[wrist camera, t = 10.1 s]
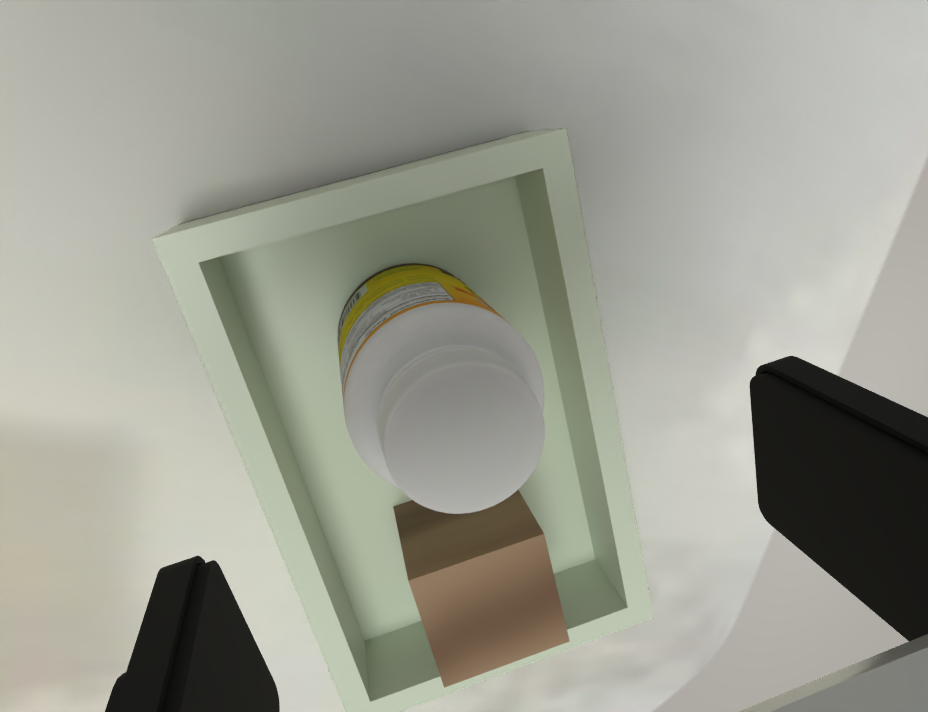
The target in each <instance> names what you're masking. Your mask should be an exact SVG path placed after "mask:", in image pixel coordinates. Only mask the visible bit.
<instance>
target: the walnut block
mask: <svg viewBox="0 0 928 712" xmlns="http://www.w3.org/2000/svg"><path fill="white" fill-rule="evenodd" d="M393 509H394V514H395V518H396V523H397V528H398V533H399V538H400V543H401V548H402V552H403V557H404V562H405V567H406V572H407V577H408V581H409V584H410V587H411V590H412V593H413V596H414V599H415V602H416V605H417V608H418V611H419V614H420V617H421V620H422V623H423V626H424V629H425V632H426V635H427V638H428V641H429V644H430V647H431V650H432V653H433V656H434V659H435V662H436V665H437V668H438V671H439V674H440V677H441V680H442V683H443V686H444V688H445V687H448V686H450V685H453V684H456V683H458V682H461V681H464V680H467V679H469V678H472V677H475V676H477V675H480V674H483V673H486V672H488V671H491V670H494V669H496V668H499V667H502V666H505V665H507V664H510V663H513V662H515V661H518V660H521V659H523V658H526V657H529V656H532V655H534V654H537V653H540V652H542V651H545V650H548V649H551V648H553V647H556V646H559V645H561V644H564V643H567V642H570V640H569V636H568V632H567V628H566V623H565V619H564V615H563V611H562V606H561V602H560V598H559V594H558V590H557V585H556V581H555V577H554V573H553V569H552V564H551V560H550V556H549V552H548V548H547V543H546V539H545V535H544V533H543V531H542V529H541V527H540V526H539V524H538V522H537V521H536V519H535V517H534V515H533V514H532V512H531V510H530V509H529V507H528V505H527V504H526V502H525V500H524V498H523V497H522V495H521V493H520V492H519V490H517V491H516V492H515V493H513V494H512V495H511V496H510V497H508V498H507V499H505V500H503V501H502V502H500V503H498V504H496V505H494V506H492V507H489V508H487V509H484V510H481V511H476V512H471V513H463V514H450V513H444V512H439V511H435V510H432V509H429V508H426V507H424V506H422V505H420V504H418V503H416V502H415V501H413V500H411V501H408V502H405V503H402V504H399V505H396V506H393Z"/></svg>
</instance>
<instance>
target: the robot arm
mask: <svg viewBox="0 0 928 712" xmlns="http://www.w3.org/2000/svg"><path fill="white" fill-rule="evenodd" d="M750 397H751V411H752V424H753V438H754V452H755V465H756V479H757V493H758V504H759V508H760V510H761V513H762V515H763V516H764V518H765V519H766V521H767V522H768V523H769V524H770V525H772V526H773V527H774V528H775V529H776V530H778V531H779V532H780V533H781V534H782V535H783V536H785V537H786V538H787V539H788V540H789V541H791V542H792V543H793V544H794V545H795V546H796V547H798V548H799V549H800V550H801V551H803V552H804V553H805V554H806V555H807V556H808V557H810V558H811V559H812V560H813V561H814V562H816V563H817V564H818V565H819V566H820V567H821V568H823V569H824V570H825V571H826V572H827V573H829V574H830V575H831V576H832V577H833V578H835V579H836V580H837V581H838V582H839V583H841V584H842V585H843V586H844V587H845V588H846V589H848V590H849V591H850V592H851V593H852V594H854V595H855V596H856V597H857V598H858V599H859V600H861V601H862V602H863V603H864V604H865V605H867V606H868V607H869V608H870V609H871V610H873V611H874V612H875V613H876V614H877V615H878V616H880V617H881V618H882V619H883V620H885V621H886V622H887V623H888V624H889V625H890V626H892V627H893V628H894V629H895V630H896V631H897V632H899V633H900V634H901V635H902V636H903V637H905V638H906V639H907V640H908V641H909V642H907V643H905V644H902V645H900V646H897V647H895V648H892V649H890V650H888V651H885V652H883V653H880V654H878V655H875V656H873V657H871V658H868V659H866V660H863V661H861V662H858V663H856V664H853V665H851V666H848V667H846V668H844V669H841V670H839V671H837V672H834V673H831V674H829V675H827V676H824V677H822V678H819V679H817V680H814V681H812V682H809V683H807V684H805V685H802V686H800V687H797V688H795V689H793V690H790V691H788V692H785V693H783V694H781V695H778V696H776V697H773V698H771V699H768V700H766V701H764V702H761V703H759V704H757V705H754V706H752V707H749V708H747V709H744V710H742V711H740V712H928V417H926V416H924V415H922V414H919V413H917V412H915V411H913V410H910V409H908V408H906V407H904V406H902V405H900V404H897V403H895V402H893V401H891V400H889V399H887V398H885V397H882V396H880V395H878V394H876V393H874V392H872V391H869V390H867V389H865V388H863V387H861V386H859V385H856V384H854V383H852V382H850V381H848V380H845V379H843V378H841V377H839V376H837V375H835V374H832V373H830V372H828V371H826V370H824V369H822V368H819V367H817V366H815V365H813V364H811V363H809V362H806V361H804V360H802V359H800V358H798V357H794V356H789V357H785V358H782V359H779V360H776V361H773V362H770V363H767V364H764V365H761V366H760V367H759V368H758V369H757V371H756V376H755V377H753V378H752V379H751V381H750ZM105 712H279V697H278V692H277V688H276V685H275V682H274V680H273V678H272V676H271V674H270V671H269V669H268V667H267V665H266V663H265V661H264V659H263V657H262V655H261V652H260V650H259V648H258V646H257V644H256V642H255V640H254V638H253V636H252V634H251V631H250V629H249V627H248V625H247V623H246V621H245V619H244V617H243V615H242V612H241V610H240V608H239V606H238V604H237V602H236V600H235V598H234V596H233V593H232V591H231V589H230V587H229V585H228V583H227V581H226V579H225V577H224V574H223V572H222V570H221V568H220V566H219V565H218V563H217V562H216V561H214V560H213V561H210V562H207V563H205V561H204V560H203V559H202V558H201V557H200V556H196V557H193V558H190V559H187V560H184V561H181V562H178V563H175V564H172V565H169V566H166V567H163V568H161V569H160V570H159V572H158V574H157V578H156V581H155V584H154V587H153V590H152V593H151V596H150V599H149V603H148V606H147V609H146V612H145V615H144V618H143V621H142V625H141V628H140V631H139V634H138V637H137V640H136V643H135V646H134V650H133V653H132V656H131V659H130V662H129V665H128V668H127V672H126V673H123V674H122V675H121V676H120V677H119V678H118V679H117V681H116V683H115V685H114V687H113V689H112V692H111V695H110V698H109V701H108V704H107V707H106V710H105Z"/></svg>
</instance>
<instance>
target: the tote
mask: <svg viewBox="0 0 928 712" xmlns="http://www.w3.org/2000/svg"><path fill="white" fill-rule="evenodd" d="M151 240H152V242H153V244H154V247H155V249H156V252H157V254H158V257H159V259H160V261H161V264H162V266H163V269H164V271H165V274H166V276H167V278H168V281H169V283H170V286H171V288H172V291H173V293H174V295H175V298H176V300H177V303H178V305H179V308H180V310H181V312H182V315H183V317H184V320H185V322H186V325H187V327H188V329H189V332H190V334H191V337H192V339H193V342H194V344H195V346H196V349H197V351H198V354H199V356H200V359H201V361H202V363H203V366H204V368H205V371H206V373H207V376H208V378H209V380H210V383H211V385H212V388H213V390H214V393H215V395H216V397H217V400H218V402H219V405H220V407H221V410H222V412H223V414H224V417H225V419H226V422H227V424H228V427H229V429H230V431H231V434H232V436H233V439H234V441H235V444H236V446H237V448H238V451H239V453H240V456H241V458H242V460H243V463H244V465H245V468H246V470H247V473H248V475H249V477H250V480H251V482H252V485H253V487H254V490H255V492H256V494H257V497H258V499H259V502H260V504H261V507H262V509H263V511H264V514H265V516H266V519H267V521H268V524H269V526H270V528H271V531H272V533H273V536H274V538H275V541H276V543H277V545H278V548H279V550H280V553H281V555H282V558H283V560H284V562H285V565H286V567H287V570H288V572H289V575H290V577H291V579H292V582H293V584H294V587H295V589H296V592H297V594H298V596H299V599H300V601H301V604H302V606H303V609H304V611H305V613H306V616H307V618H308V621H309V623H310V626H311V628H312V630H313V633H314V635H315V638H316V640H317V643H318V645H319V647H320V650H321V652H322V655H323V657H324V660H325V662H326V664H327V667H328V669H329V672H330V674H331V676H332V679H333V681H334V684H335V686H336V689H337V691H338V693H339V696H340V698H341V701H342V703H343V706H344V708H345V710H346V712H401V711H404V710H407V709H409V708H412V707H415V706H417V705H420V704H423V703H425V702H428V701H431V700H434V699H436V698H439V697H442V696H444V695H447V694H450V693H452V692H455V691H458V690H461V689H463V688H466V687H469V686H471V685H474V684H477V683H479V682H482V681H485V680H487V679H490V678H493V677H496V676H498V675H501V674H504V673H506V672H509V671H512V670H514V669H517V668H520V667H523V666H525V665H528V664H531V663H533V662H536V661H539V660H541V659H544V658H547V657H550V656H552V655H555V654H558V653H560V652H563V651H566V650H568V649H571V648H574V647H577V646H579V645H582V644H585V643H587V642H590V641H593V640H595V639H598V638H601V637H604V636H606V635H609V634H612V633H614V632H617V631H620V630H622V629H625V628H628V627H631V626H633V625H636V624H639V623H641V622H644V621H647V620H649V619H652V618H653V614H652V608H651V603H650V597H649V591H648V586H647V580H646V574H645V569H644V563H643V557H642V552H641V546H640V540H639V535H638V529H637V524H636V518H635V512H634V507H633V501H632V495H631V490H630V484H629V478H628V473H627V467H626V461H625V456H624V450H623V445H622V439H621V433H620V428H619V422H618V416H617V411H616V405H615V399H614V394H613V388H612V383H611V377H610V371H609V366H608V360H607V354H606V349H605V343H604V337H603V332H602V326H601V320H600V315H599V309H598V304H597V298H596V292H595V287H594V281H593V275H592V270H591V264H590V258H589V253H588V247H587V241H586V236H585V230H584V225H583V219H582V213H581V208H580V202H579V196H578V191H577V185H576V179H575V174H574V168H573V162H572V157H571V151H570V146H569V140H568V134H567V129H566V128H560V129H549V130H538V131H527V132H523V133H519V134H516V135H512V136H508V137H504V138H501V139H497V140H493V141H489V142H486V143H482V144H478V145H474V146H471V147H467V148H463V149H459V150H456V151H452V152H448V153H444V154H441V155H437V156H433V157H429V158H425V159H422V160H418V161H414V162H410V163H407V164H403V165H399V166H395V167H392V168H388V169H384V170H380V171H377V172H373V173H369V174H365V175H362V176H358V177H354V178H350V179H347V180H343V181H339V182H335V183H332V184H328V185H324V186H320V187H317V188H313V189H309V190H305V191H302V192H298V193H294V194H290V195H287V196H283V197H279V198H275V199H272V200H268V201H264V202H260V203H257V204H253V205H249V206H245V207H242V208H238V209H234V210H230V211H227V212H223V213H219V214H215V215H212V216H208V217H204V218H200V219H196V220H193V221H189V222H185V223H181V224H179V225H177V226H175V227H173V228H171V229H169V230H168V231H166V232H164V233H162V234H160V235H158V236H156V237H154V238H152V239H151ZM402 263H423V264H429V265H433V266H436V267H439V268H442V269H444V270H446V271H448V272H449V273H451V274H453V275H454V276H456V277H457V278H458V279H460V280H461V281H462V282H464V283H465V284H466V285H467V286H468V287H469V288H470V289H471V290H473V291H474V292H475V293H476V294H477V295H478V296H479V297H480V298H482V299H483V300H484V301H485V302H486V303H487V304H488V305H489V306H491V307H492V308H493V309H494V310H495V311H496V312H497V313H499V314H500V315H501V316H502V317H503V318H504V319H505V320H507V321H508V322H509V323H510V324H511V325H512V326H513V327H514V328H515V329H516V330H517V331H518V332H519V333H520V334H521V335H522V336H523V337H524V339H525V340H526V341H527V343H528V344H529V345H530V347H531V348H532V350H533V352H534V354H535V356H536V358H537V360H538V363H539V365H540V368H541V372H542V376H543V381H544V396H545V399H544V409H543V417H544V425H545V438H544V445H543V449H542V453H541V456H540V459H539V461H538V464H537V465H536V467H535V469H534V471H533V472H532V474H531V475H530V477H529V478H528V479H527V481H526V482H525V483H524V484H523V485H522V486H521V487H520V488H519V489H518V490H519V492H520V493H521V495H522V497H523V498H524V500H525V502H526V504H527V505H528V507H529V509H530V510H531V512H532V514H533V515H534V517H535V519H536V521H537V522H538V524H539V526H540V527H541V529H542V531H543V533H544V535H545V539H546V543H547V548H548V552H549V556H550V560H551V564H552V569H553V573H554V577H555V581H556V585H557V590H558V594H559V598H560V602H561V606H562V611H563V615H564V619H565V623H566V628H567V632H568V636H569V640H570V642H567V643H564V644H561V645H559V646H556V647H553V648H551V649H548V650H545V651H542V652H540V653H537V654H534V655H532V656H529V657H526V658H523V659H521V660H518V661H515V662H513V663H510V664H507V665H505V666H502V667H499V668H496V669H494V670H491V671H488V672H486V673H483V674H480V675H477V676H475V677H472V678H469V679H467V680H464V681H461V682H458V683H456V684H453V685H450V686H448V687H445V688H444V686H443V683H442V680H441V677H440V674H439V671H438V668H437V665H436V662H435V659H434V656H433V653H432V650H431V647H430V644H429V641H428V638H427V635H426V632H425V629H424V626H423V623H422V620H421V617H420V614H419V611H418V608H417V605H416V602H415V599H414V596H413V593H412V590H411V587H410V584H409V581H408V577H407V572H406V567H405V562H404V557H403V552H402V548H401V543H400V538H399V533H398V528H397V523H396V518H395V514H394V509H393V506H396V505H399V504H402V503H405V502H408V501H411V500H412V499H411V498H409V497H408V496H407V495H406V494H405V493H404V492H403V491H402V490H401V489H399V488H397V487H395V486H393V485H391V484H390V483H388V482H386V481H385V480H383V479H382V478H380V477H379V476H378V475H377V474H375V473H374V472H373V471H372V470H371V469H370V468H369V467H368V466H367V465H366V463H365V462H364V461H363V460H362V459H361V457H360V455H359V454H358V452H357V451H356V449H355V447H354V445H353V443H352V440H351V438H350V435H349V432H348V429H347V426H346V422H345V415H344V405H343V396H342V385H341V377H340V366H339V355H338V341H337V339H338V325H339V320H340V316H341V313H342V310H343V308H344V306H345V304H346V302H347V300H348V298H349V297H350V296H351V294H352V293H353V291H354V290H355V289H356V288H357V287H358V286H359V285H360V284H361V283H362V282H363V281H364V280H365V279H367V278H368V277H369V276H371V275H372V274H374V273H376V272H378V271H380V270H382V269H384V268H387V267H389V266H393V265H397V264H402Z"/></svg>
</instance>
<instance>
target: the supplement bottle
mask: <svg viewBox="0 0 928 712" xmlns="http://www.w3.org/2000/svg"><path fill="white" fill-rule="evenodd" d="M337 341H338V355H339V366H340V377H341V385H342V396H343V405H344V415H345V422H346V426H347V429H348V432H349V435H350V438H351V440H352V443H353V445H354V447H355V449H356V451H357V452H358V454H359V455H360V457H361V459H362V460H363V461H364V462H365V463H366V465H367V466H368V467H369V468H370V469H371V470H372V471H373V472H374V473H375V474H377V475H378V476H379V477H380V478H382V479H383V480H385V481H386V482H388V483H390V484H391V485H393V486H395V487H397V488H399V489H401V490H402V491H403V492H404V493H405V494H406V495H407V496H408V497H409V498H411V499H412V500H413V501H415V502H416V503H418V504H420V505H422V506H424V507H426V508H429V509H432V510H435V511H439V512H444V513H450V514H463V513H471V512H476V511H481V510H484V509H487V508H489V507H492V506H494V505H496V504H498V503H500V502H502V501H503V500H505V499H507V498H508V497H510V496H511V495H512V494H513V493H515V492H516V491H517V490H518V489H519V488H520V487H521V486H522V485H523V484H524V483H525V482H526V481H527V479H528V478H529V477H530V475H531V474H532V472H533V471H534V469H535V467H536V465H537V464H538V461H539V459H540V456H541V453H542V449H543V445H544V438H545V425H544V417H543V409H544V399H545V396H544V381H543V376H542V372H541V368H540V365H539V363H538V360H537V358H536V356H535V354H534V352H533V350H532V348H531V347H530V345H529V344H528V343H527V341H526V340H525V339H524V337H523V336H522V335H521V334H520V333H519V332H518V331H517V330H516V329H515V328H514V327H513V326H512V325H511V324H510V323H509V322H508V321H507V320H505V319H504V318H503V317H502V316H501V315H500V314H499V313H497V312H496V311H495V310H494V309H493V308H492V307H491V306H489V305H488V304H487V303H486V302H485V301H484V300H483V299H482V298H480V297H479V296H478V295H477V294H476V293H475V292H474V291H473V290H471V289H470V288H469V287H468V286H467V285H466V284H465V283H464V282H462V281H461V280H460V279H458V278H457V277H456V276H454V275H453V274H451V273H449V272H448V271H446V270H444V269H442V268H439V267H436V266H433V265H429V264H423V263H402V264H397V265H393V266H389V267H387V268H384V269H382V270H380V271H378V272H376V273H374V274H372V275H371V276H369V277H368V278H367V279H365V280H364V281H363V282H362V283H361V284H360V285H359V286H358V287H357V288H356V289H355V290H354V291H353V293H352V294H351V296H350V297H349V298H348V300H347V302H346V304H345V306H344V308H343V310H342V313H341V316H340V320H339V325H338V339H337Z"/></svg>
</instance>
